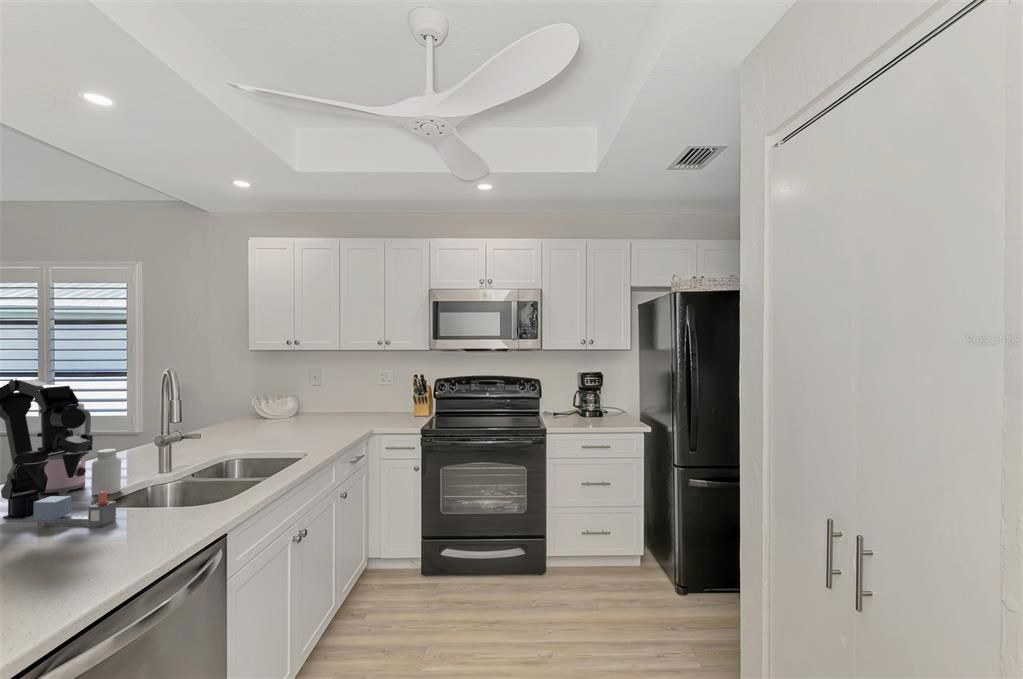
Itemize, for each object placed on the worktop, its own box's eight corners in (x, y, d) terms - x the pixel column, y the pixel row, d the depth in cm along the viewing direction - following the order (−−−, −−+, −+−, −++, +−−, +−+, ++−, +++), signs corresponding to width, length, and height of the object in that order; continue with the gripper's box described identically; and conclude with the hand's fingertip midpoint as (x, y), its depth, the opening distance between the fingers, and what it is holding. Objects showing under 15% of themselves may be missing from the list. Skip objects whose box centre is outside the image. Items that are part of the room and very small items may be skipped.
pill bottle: (104, 497, 168) (104, 453, 168) (85, 495, 170) (85, 452, 170) (126, 490, 176) (127, 448, 176) (108, 488, 177) (108, 447, 177)
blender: (27, 495, 168) (29, 402, 168) (60, 485, 180) (62, 398, 180) (73, 496, 168) (74, 403, 168) (103, 486, 180) (104, 399, 180)
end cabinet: (87, 527, 141) (87, 507, 141) (101, 521, 147) (102, 501, 147) (102, 527, 142) (102, 507, 142) (115, 521, 147) (115, 501, 147)
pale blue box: (33, 519, 141) (33, 502, 141) (50, 512, 146) (50, 496, 146) (55, 519, 141) (55, 502, 141) (71, 512, 146) (71, 496, 146)
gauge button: (96, 510, 143) (96, 493, 143) (101, 507, 145) (101, 490, 145) (103, 510, 143) (103, 493, 143) (108, 507, 145) (108, 491, 145)
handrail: (43, 525, 142) (43, 519, 142) (50, 522, 145) (51, 516, 145) (90, 525, 143) (90, 519, 143) (96, 522, 145) (96, 516, 145)
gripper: (51, 431, 134) (53, 489, 133) (108, 422, 152) (110, 472, 152) (11, 433, 134) (12, 491, 133) (73, 423, 152) (74, 474, 152)
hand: (56, 481), depth 143 cm, fingers open, 9 cm apart
